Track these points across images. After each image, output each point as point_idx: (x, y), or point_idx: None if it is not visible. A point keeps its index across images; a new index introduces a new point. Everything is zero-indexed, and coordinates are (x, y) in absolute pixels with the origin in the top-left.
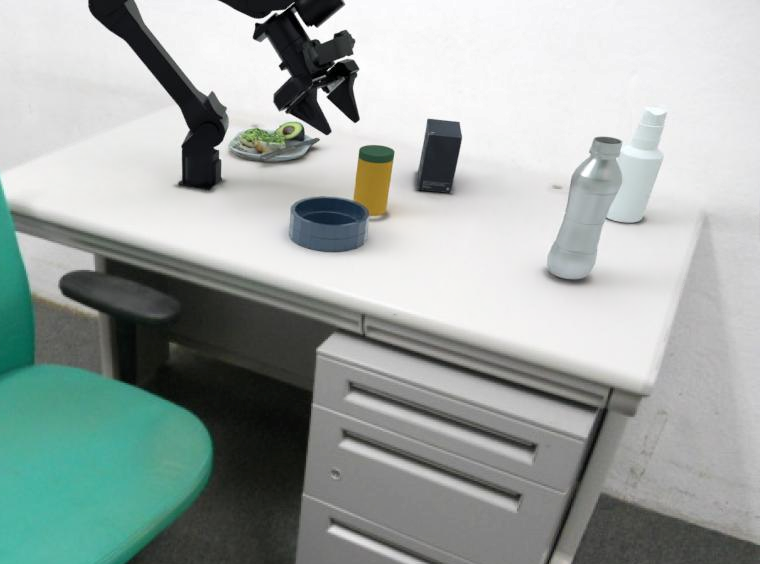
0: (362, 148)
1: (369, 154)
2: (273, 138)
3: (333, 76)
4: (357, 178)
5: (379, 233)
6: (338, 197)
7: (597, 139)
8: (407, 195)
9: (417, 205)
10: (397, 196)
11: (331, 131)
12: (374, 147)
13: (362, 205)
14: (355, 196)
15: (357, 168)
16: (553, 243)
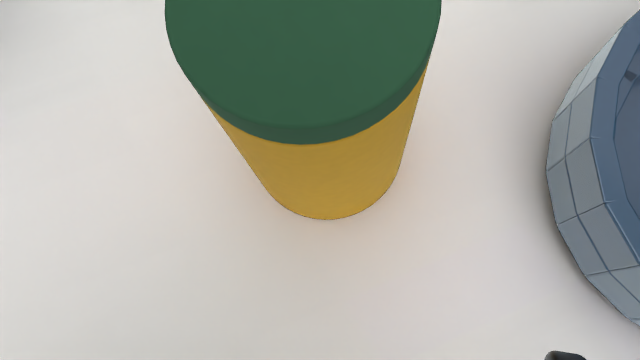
0: (318, 104)
1: (433, 3)
2: None
3: None
4: (391, 149)
5: (501, 33)
6: (604, 184)
7: None
8: (34, 83)
9: (129, 12)
10: (65, 115)
11: (556, 351)
12: (241, 35)
13: (627, 34)
14: (386, 175)
15: (372, 149)
16: None
